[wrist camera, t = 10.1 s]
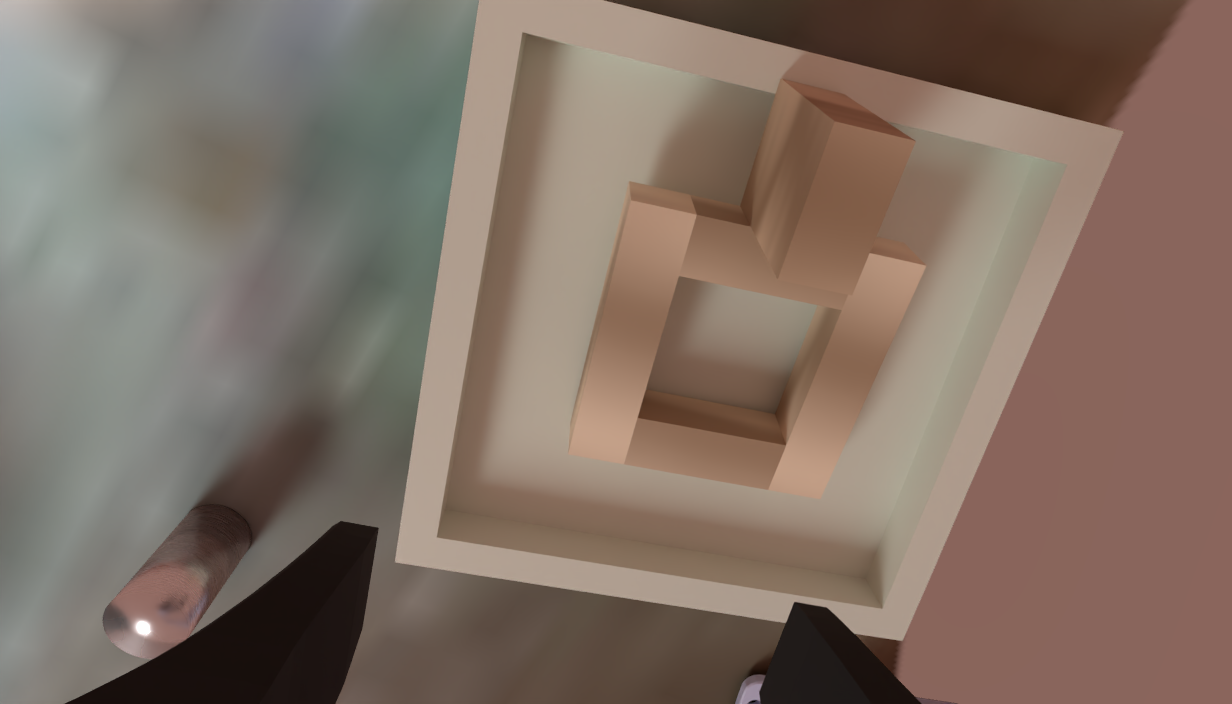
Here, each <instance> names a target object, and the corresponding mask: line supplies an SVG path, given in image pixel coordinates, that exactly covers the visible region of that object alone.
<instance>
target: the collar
mask: <svg viewBox="0 0 1232 704" xmlns="http://www.w3.org/2000/svg"><path fill="white" fill-rule="evenodd" d="M915 142H916V141H915V140H914V139H912V138H911V137H909V136H908V135H906V134H904V133H903V132H901V131H900V130H898V129H897V128H895V127H894V126H892V125H891V124H889V123H888V122H886V121H885V120H883V119H881V118H880V117H878V116H877V115H875V114H874V113H872V112H871V111H869V110H868V109H866V108H865V107H863V106H862V105H860V104H858V103H857V102H855V101H854V100H852V99H851V98H849V97H848V96H846V95H845V94H842V93H838V92H834V91H830V90H826V89H822V88H818V87H814V86H810V85H806V84H802V83H798V82H794V81H790V80H785V79H780V82H779V85H778V88H777V91H776V94H775V97H774V101H773V104H772V107H771V110H770V113H769V116H768V119H767V123H766V126H765V129H764V132H763V135H762V138H761V141H760V145H759V148H758V151H757V154H756V157H755V160H754V163H753V167H752V170H751V173H750V176H749V179H748V182H747V185H746V189H745V192H744V195H743V198H742V201H741V204H740V206H738V205H734V204H729V203H725V202H721V201H716V200H712V199H707V198H703V197H698V196H694V195H689V194H685V193H680V192H676V191H672V190H667V189H663V188H658V187H654V186H649V185H645V184H640V183H636V182H631V181H629V183H628V187H627V191H626V195H625V199H624V203H623V207H622V211H621V216H620V220H619V224H618V228H617V232H616V236H615V240H614V244H613V248H612V253H611V257H610V261H609V265H608V269H607V273H606V277H605V281H604V286H603V290H602V294H601V298H600V302H599V306H598V310H597V314H596V318H595V323H594V327H593V331H592V335H591V339H590V343H589V347H588V351H587V355H586V360H585V364H584V368H583V372H582V376H581V380H580V384H579V388H578V393H577V397H576V401H575V405H574V409H573V413H572V417H571V421H570V434H569V449H568V454H569V455H574V456H580V457H585V458H591V459H597V460H602V461H608V462H614V463H619V464H625V465H630V466H636V467H642V468H647V469H653V470H659V471H664V472H670V473H675V474H681V475H687V476H692V477H698V478H703V479H709V480H715V481H720V482H726V483H732V484H737V485H743V486H748V487H754V488H760V489H765V490H771V491H776V492H782V493H788V494H793V495H799V496H805V497H810V498H816V499H821V497H822V494H823V492H824V490H825V488H826V486H827V483H828V481H829V479H830V477H831V475H832V472H833V470H834V468H835V466H836V464H837V461H838V459H839V457H840V455H841V453H842V450H843V448H844V446H845V444H846V442H847V439H848V437H849V435H850V433H851V431H852V429H853V426H854V424H855V422H856V420H857V418H858V415H859V413H860V411H861V409H862V407H863V404H864V402H865V400H866V398H867V396H868V393H869V391H870V389H871V387H872V385H873V382H874V380H875V378H876V376H877V374H878V371H879V369H880V367H881V365H882V363H883V360H884V358H885V356H886V354H887V352H888V349H889V347H890V345H891V343H892V341H893V338H894V336H895V334H896V332H897V330H898V327H899V325H900V323H901V321H902V319H903V316H904V314H905V312H906V310H907V308H908V305H909V303H910V301H911V299H912V297H913V294H914V292H915V290H916V288H917V286H918V283H919V281H920V279H921V277H922V275H923V272H924V270H925V268H926V265H925V264H924V262H923V261H922V260H921V259H920V258H919V257H918V256H917V255H916V254H915V253H914V252H913V251H912V250H911V249H910V248H909V247H908V246H907V245H906V244H905V243H903V242H899V241H894V240H890V239H885V238H881V237H877V234H878V232H879V229H880V227H881V225H882V222H883V220H884V217H885V215H886V212H887V210H888V208H889V205H890V203H891V200H892V198H893V196H894V193H895V191H896V188H897V186H898V183H899V181H900V179H901V176H902V174H903V171H904V169H905V167H906V164H907V162H908V159H909V157H910V154H911V152H912V150H913V147H914V145H915ZM679 276H681V277H686V278H691V279H696V280H700V281H705V282H710V283H715V284H719V285H724V286H729V287H734V288H738V289H743V290H748V291H753V292H757V293H762V294H767V295H772V296H776V297H781V298H786V299H791V300H795V301H800V302H805V303H810V304H814V305H817V308H816V311H815V313H814V316H813V318H812V321H811V323H810V326H809V328H808V331H807V333H806V336H805V339H804V341H803V344H802V346H801V349H800V351H799V354H798V356H797V359H796V361H795V364H794V367H793V369H792V372H791V374H790V377H789V379H788V382H787V384H786V387H785V389H784V392H783V395H782V397H781V400H780V402H779V405H778V407H777V410H776V412H775V414H772V413H767V412H762V411H757V410H751V409H746V408H741V407H736V406H731V405H725V404H720V403H715V402H710V401H704V400H699V399H694V398H689V397H683V396H678V395H673V394H668V393H662V392H657V391H652V390H647V389H646V387H647V384H648V380H649V377H650V373H651V370H652V367H653V363H654V360H655V356H656V353H657V349H658V346H659V343H660V339H661V336H662V332H663V329H664V325H665V322H666V319H667V315H668V312H669V308H670V305H671V302H672V298H673V295H674V291H675V288H676V284H677V281H678V278H679Z"/></svg>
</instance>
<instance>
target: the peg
mask: <svg viewBox="0 0 1232 704" xmlns="http://www.w3.org/2000/svg"><path fill="white" fill-rule="evenodd" d="M250 544H251V531H250V528H249V526H248V524H247V523H246V521H245V520H244V519H243V518H242V517H241V516H240V515H239V514H238V513H236V512H235V511H233V510H231V509H229V508H226V507H223V506H219V505H204V506H200V507H197V508H195V509H193V510H192V511H191V512H189V513H188V514H187V515H186V516H185V518H184V519H183V520H182V521H181V522H180V523H179V525H178V526H177V527H176V528H175V529H174V530H173V531H172V533H171V534H170V535H169V536H168V537H167V538H166V539H165V541H164V542H163V543H162V544H161V545H160V546H159V547H158V549H157V550H156V551H155V552H154V553H153V554H152V555H151V557H150V558H149V559H148V560H147V561H146V562H145V564H144V565H143V566H142V567H141V568H140V569H139V570H138V572H137V573H136V574H135V575H134V576H133V577H132V578H131V580H130V581H129V582H128V583H127V584H126V585H125V586H124V588H123V589H122V590H121V591H120V592H119V593H118V594H117V596H116V597H115V598H114V599H113V600H112V601H111V603H110V604H109V605H108V606H107V608H106V609H105V611H104V615H103V626H104V630H105V632H106V634H107V636H108V637H109V639H110V640H111V641H112V642H113V643H114V644H115V645H116V646H117V647H118V648H120V649H121V650H123V651H125V652H127V653H129V654H131V655H134V656H137V657H141V658H149V659H154V658H156V657H157V656H159V655H161V654H162V653H164V652H166V651H167V650H169V649H171V648H173V647H174V646H176V645H178V644H179V643H181V642H182V641H184V640H186V639H187V638H188V637H189V636H190V634H191V633H192V631H193V630H194V628H195V627H196V625H197V624H198V622H199V621H200V619H201V618H202V616H203V615H204V614H205V612H206V611H207V609H208V608H209V606H210V605H211V603H212V602H213V600H214V599H215V597H216V596H217V594H218V593H219V592H220V590H221V589H222V587H223V586H224V584H225V583H226V581H227V580H228V578H229V577H230V575H231V574H232V572H233V571H234V570H235V568H236V567H237V565H238V564H239V562H240V561H241V559H242V558H243V556H244V555H245V553H246V552H247V550H248V549H249V547H250Z"/></svg>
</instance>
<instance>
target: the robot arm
mask: <svg viewBox="0 0 1232 704" xmlns="http://www.w3.org/2000/svg"><path fill="white" fill-rule="evenodd" d="M378 529H379V528H377V527H371V526H365V525H360V524H354V523H349V522H343V521H340V522H339V523H337V524H335V525H334V526H332V527H331V528H330V529H329V530H328V531H327V532H326V533H325V534H324V535H323V536H321V537H320V538H319V539H318V540H317V541H316V542H315V543H314V544H313V545H311V546H310V547H309V548H308V549H307V550H306V551H305V552H303V553H302V554H301V555H300V556H299V557H298V558H296V559H295V560H294V561H293V562H292V563H290V564H289V565H288V566H287V567H286V568H284V569H283V570H282V571H281V572H279V573H278V574H277V575H276V576H274V577H273V578H272V579H270V580H269V581H268V582H267V583H265V584H264V585H263V586H262V587H260V588H259V589H258V590H257V591H255V592H254V593H253V594H251V595H250V596H249V597H247V598H246V599H244V600H243V601H242V602H240V603H239V604H237V605H236V606H234V607H233V608H232V609H230V610H229V611H227V612H226V613H225V614H223V615H222V616H220V617H219V618H217V619H216V620H215V621H213V622H212V623H210V624H209V625H207V626H206V627H204V628H203V629H201V630H200V631H198V632H197V633H195V634H193V635H192V636H190V637H189V638H187V639H186V640H184V641H182V642H181V643H179V644H178V645H176V646H174V647H173V648H171V649H169V650H167V651H166V652H164V653H162V654H161V655H159V656H157V657H156V658H154V659H152V660H150V661H149V662H147V663H145V664H143V665H141V666H140V667H138V668H136V669H134V670H132V671H130V672H128V673H126V674H124V675H122V676H120V677H118V678H116V679H114V680H112V681H110V682H108V683H106V684H104V685H102V686H100V687H98V688H96V689H94V690H92V691H90V692H88V693H86V694H84V695H82V696H80V697H78V698H76V699H74V700H72V701H69V702H67V703H65V704H335V703H336V701H337V699H338V696H339V694H340V692H341V690H342V687H343V685H344V682H345V679H346V676H347V673H348V670H349V667H350V664H351V661H352V658H353V655H354V652H355V649H356V646H357V643H358V640H359V637H360V634H361V631H362V627H363V621H364V615H365V609H366V603H367V597H368V590H369V584H370V578H371V572H372V566H373V560H374V554H375V547H376V541H377V535H378ZM752 700H758V701H756V702H754V703H748V702H750V701H752ZM735 704H957V703H951V702H943V701H937V700H930V699H923V698H917V697H914V695H913V694H911V692H910V691H909V690H908V689H907V688H906V687H905V686H904V685H903V684H902V683H901V682H900V681H899V680H898V679H897V678H896V677H895V676H894V675H893V674H892V673H891V672H890V671H889V670H888V669H887V668H886V667H885V666H884V665H883V664H882V662H881V661H880V660H879V659H878V658H877V657H876V656H875V655H874V654H873V653H872V652H871V651H870V650H869V649H868V648H867V647H866V646H865V645H864V644H863V643H862V641H861V640H860V639H859V638H858V637H857V636H856V635H855V634H854V633H853V632H852V631H851V630H850V629H849V628H848V627H847V626H846V625H845V624H844V623H843V622H842V621H841V620H840V619H839V618H838V617H837V616H836V615H835V614H834V613H833V612H831V611H830V610H829V609H828V608H827V607H822V606H816V605H810V604H805V603H799V602H794V604H793V606H792V609H791V611H790V614H789V617H788V619H787V622H786V624H785V627H784V629H783V632H782V635H781V637H780V640H779V642H778V645H777V647H776V650H775V653H774V655H773V658H772V660H771V663H770V665H769V668H768V671H767V673H766V675H752V676H749V677H748V678H747V679H745V680H744V682H743V683H742V686H741V688H740V691H739V694H738V697H737V700H736V702H735Z"/></svg>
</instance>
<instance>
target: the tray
mask: <svg viewBox="0 0 1232 704" xmlns="http://www.w3.org/2000/svg"><path fill="white" fill-rule="evenodd" d="M780 79H785V80H790V81H794V82H798V83H802V84H806V85H810V86H814V87H818V88H822V89H826V90H830V91H834V92H838V93H842V94H845V95H846V96H848V97H849V98H851V99H852V100H854V101H855V102H857V103H858V104H860V105H862V106H863V107H865V108H866V109H868V110H869V111H871V112H872V113H874V114H875V115H877V116H878V117H880V118H881V119H883V120H885V121H886V122H888V123H889V124H891V125H892V126H894V127H895V128H897V129H898V130H900V131H901V132H903V133H904V134H906V135H908V136H909V137H911V138H912V139H914V140H915V141H916V142H915V145H914V147H913V150H912V152H911V154H910V157H909V159H908V162H907V164H906V167H905V169H904V171H903V174H902V176H901V179H900V181H899V183H898V186H897V188H896V191H895V193H894V196H893V198H892V200H891V203H890V205H889V208H888V210H887V212H886V215H885V217H884V220H883V222H882V225H881V227H880V229H879V232H878V234H877V237H881V238H885V239H890V240H894V241H899V242H903V243H905V244H906V245H907V246H908V247H909V248H910V249H911V250H912V251H913V252H914V253H915V254H916V255H917V256H918V257H919V258H920V259H921V260H922V261H923V262H924V264H925V265H926V268H925V270H924V272H923V275H922V277H921V279H920V281H919V283H918V286H917V288H916V290H915V292H914V294H913V297H912V299H911V301H910V303H909V305H908V308H907V310H906V312H905V314H904V316H903V319H902V321H901V323H900V325H899V327H898V330H897V332H896V334H895V336H894V338H893V341H892V343H891V345H890V347H889V349H888V352H887V354H886V356H885V358H884V360H883V363H882V365H881V367H880V369H879V371H878V374H877V376H876V378H875V380H874V382H873V385H872V387H871V389H870V391H869V393H868V396H867V398H866V400H865V402H864V404H863V407H862V409H861V411H860V413H859V415H858V418H857V420H856V422H855V424H854V426H853V429H852V431H851V433H850V435H849V437H848V439H847V442H846V444H845V446H844V448H843V450H842V453H841V455H840V457H839V459H838V461H837V464H836V466H835V468H834V470H833V472H832V475H831V477H830V479H829V481H828V483H827V486H826V488H825V490H824V492H823V494H822V497H821V499H816V498H810V497H805V496H799V495H793V494H788V493H782V492H776V491H771V490H765V489H760V488H754V487H748V486H743V485H737V484H732V483H726V482H720V481H715V480H709V479H703V478H698V477H692V476H687V475H681V474H675V473H670V472H664V471H659V470H653V469H647V468H642V467H636V466H630V465H625V464H619V463H614V462H608V461H602V460H597V459H591V458H585V457H580V456H574V455H569V454H568V449H569V434H570V421H571V417H572V413H573V409H574V405H575V401H576V397H577V393H578V388H579V384H580V380H581V376H582V372H583V368H584V364H585V360H586V355H587V351H588V347H589V343H590V339H591V335H592V331H593V327H594V323H595V318H596V314H597V310H598V306H599V302H600V298H601V294H602V290H603V286H604V281H605V277H606V273H607V269H608V265H609V261H610V257H611V253H612V248H613V244H614V240H615V236H616V232H617V228H618V224H619V220H620V216H621V211H622V207H623V203H624V199H625V195H626V191H627V187H628V183H629V181H631V182H636V183H640V184H645V185H649V186H654V187H658V188H663V189H667V190H672V191H676V192H680V193H685V194H689V195H694V196H698V197H703V198H707V199H712V200H716V201H721V202H725V203H729V204H734V205H738V206H740V204H741V201H742V198H743V195H744V192H745V189H746V185H747V182H748V179H749V176H750V173H751V170H752V167H753V163H754V160H755V157H756V154H757V151H758V148H759V145H760V141H761V138H762V135H763V132H764V129H765V126H766V123H767V119H768V116H769V113H770V110H771V107H772V104H773V101H774V97H775V94H776V91H777V88H778V85H779V82H780ZM1123 133H1124V131H1121V130H1117V129H1113V128H1109V127H1105V126H1101V125H1097V124H1093V123H1089V122H1085V121H1081V120H1077V119H1073V118H1069V117H1065V116H1061V115H1057V114H1053V113H1049V112H1045V111H1041V110H1037V109H1034V108H1030V107H1026V106H1022V105H1018V104H1014V103H1010V102H1006V101H1002V100H998V99H994V98H990V97H986V96H982V95H978V94H974V93H970V92H966V91H962V90H958V89H954V88H950V87H946V86H942V85H938V84H934V83H930V82H926V81H922V80H918V79H914V78H910V77H906V76H902V75H898V74H894V73H890V72H886V71H882V70H879V69H875V68H871V67H867V66H863V65H859V64H855V63H851V62H847V61H843V60H839V59H835V58H831V57H827V56H823V55H819V54H815V53H811V52H807V51H803V50H799V49H795V48H791V47H787V46H783V45H779V44H775V43H771V42H767V41H763V40H759V39H755V38H751V37H747V36H743V35H739V34H735V33H731V32H727V31H723V30H720V29H716V28H712V27H708V26H704V25H700V24H696V23H692V22H688V21H684V20H680V19H676V18H672V17H668V16H664V15H660V14H656V13H652V12H648V11H644V10H640V9H636V8H632V7H628V6H624V5H620V4H616V3H612V2H608V1H604V0H479V6H478V12H477V19H476V26H475V32H474V39H473V46H472V52H471V59H470V66H469V72H468V79H467V86H466V92H465V99H464V106H463V112H462V119H461V126H460V132H459V139H458V146H457V152H456V159H455V166H454V172H453V179H452V186H451V192H450V199H449V206H448V212H447V219H446V225H445V232H444V239H443V245H442V252H441V259H440V265H439V272H438V279H437V285H436V292H435V299H434V305H433V312H432V319H431V325H430V332H429V339H428V345H427V352H426V359H425V365H424V372H423V379H422V385H421V392H420V399H419V405H418V412H417V419H416V425H415V432H414V439H413V445H412V452H411V459H410V465H409V472H408V478H407V485H406V492H405V498H404V505H403V512H402V518H401V525H400V532H399V538H398V545H397V552H396V558H395V562H397V563H403V564H410V565H416V566H423V567H429V568H435V569H442V570H448V571H455V572H461V573H468V574H474V575H481V576H487V577H493V578H500V579H506V580H513V581H519V582H526V583H532V584H538V585H545V586H551V587H558V588H564V589H571V590H577V591H584V592H590V593H596V594H603V595H609V596H616V597H622V598H629V599H635V600H642V601H648V602H654V603H661V604H667V605H674V606H680V607H687V608H693V609H700V610H706V611H712V612H719V613H725V614H732V615H738V616H745V617H751V618H757V619H764V620H770V621H777V622H783V623H786V622H787V619H788V617H789V614H790V611H791V609H792V606H793V604H794V602H799V603H805V604H810V605H816V606H822V607H827V608H828V609H829V610H830V611H831V612H833V613H834V614H835V615H836V616H837V617H838V618H839V619H840V620H841V621H842V622H843V623H844V624H845V625H846V626H847V627H848V628H849V629H850V630H851V631H852V632H853V633H854V634H861V635H867V636H873V637H880V638H886V639H893V640H899V641H903V639H904V637H905V635H906V632H907V630H908V627H909V625H910V623H911V621H912V618H913V616H914V614H915V611H916V609H917V607H918V604H919V602H920V600H921V598H922V595H923V593H924V591H925V588H926V586H927V584H928V582H929V579H930V577H931V575H932V572H933V570H934V568H935V565H936V563H937V561H938V558H939V556H940V554H941V552H942V549H943V547H944V545H945V542H946V540H947V538H948V535H949V533H950V531H951V529H952V526H953V524H954V522H955V519H956V517H957V515H958V512H959V510H960V508H961V505H962V503H963V501H964V499H965V496H966V494H967V492H968V489H969V487H970V485H971V483H972V480H973V478H974V476H975V473H976V471H977V469H978V466H979V464H980V462H981V459H982V457H983V455H984V453H985V450H986V448H987V446H988V443H989V441H990V439H991V436H992V434H993V432H994V430H995V427H996V425H997V423H998V420H999V418H1000V416H1001V413H1002V411H1003V409H1004V407H1005V404H1006V402H1007V399H1008V397H1009V395H1010V393H1011V390H1012V388H1013V386H1014V384H1015V381H1016V379H1017V377H1018V374H1019V372H1020V370H1021V367H1022V365H1023V363H1024V360H1025V358H1026V356H1027V354H1028V351H1029V349H1030V347H1031V344H1032V342H1033V340H1034V337H1035V335H1036V333H1037V330H1038V328H1039V326H1040V324H1041V321H1042V319H1043V317H1044V314H1045V312H1046V310H1047V308H1048V305H1049V303H1050V301H1051V298H1052V296H1053V294H1054V291H1055V289H1056V287H1057V284H1058V282H1059V280H1060V277H1061V275H1062V273H1063V271H1064V268H1065V266H1066V264H1067V261H1068V259H1069V257H1070V255H1071V252H1072V250H1073V248H1074V245H1075V243H1076V241H1077V238H1078V236H1079V234H1080V231H1081V229H1082V227H1083V224H1084V222H1085V220H1086V217H1087V215H1088V213H1089V211H1090V209H1091V206H1092V204H1093V201H1094V199H1095V197H1096V194H1097V192H1098V190H1099V188H1100V185H1101V183H1102V181H1103V179H1104V176H1105V174H1106V172H1107V169H1108V167H1109V165H1110V162H1111V160H1112V158H1113V155H1114V153H1115V151H1116V148H1117V146H1118V144H1119V142H1120V139H1121V137H1122V135H1123ZM816 308H817V305H814V304H810V303H805V302H800V301H795V300H791V299H786V298H781V297H776V296H772V295H767V294H762V293H757V292H753V291H748V290H743V289H738V288H734V287H729V286H724V285H719V284H715V283H710V282H705V281H700V280H696V279H691V278H686V277H681V276H679V278H678V281H677V284H676V288H675V291H674V295H673V298H672V302H671V305H670V308H669V312H668V315H667V319H666V322H665V325H664V329H663V332H662V336H661V339H660V343H659V346H658V349H657V353H656V356H655V360H654V363H653V367H652V370H651V373H650V377H649V380H648V384H647V387H646V389H647V390H652V391H657V392H662V393H668V394H673V395H678V396H683V397H689V398H694V399H699V400H704V401H710V402H715V403H720V404H725V405H731V406H736V407H741V408H746V409H751V410H757V411H762V412H767V413H772V414H775V412H776V410H777V407H778V405H779V402H780V400H781V397H782V395H783V392H784V389H785V387H786V384H787V382H788V379H789V377H790V374H791V372H792V369H793V367H794V364H795V361H796V359H797V356H798V354H799V351H800V349H801V346H802V344H803V341H804V339H805V336H806V333H807V331H808V328H809V326H810V323H811V321H812V318H813V316H814V313H815V311H816Z"/></svg>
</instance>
